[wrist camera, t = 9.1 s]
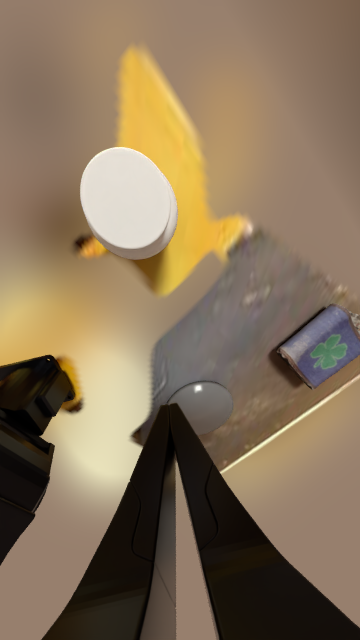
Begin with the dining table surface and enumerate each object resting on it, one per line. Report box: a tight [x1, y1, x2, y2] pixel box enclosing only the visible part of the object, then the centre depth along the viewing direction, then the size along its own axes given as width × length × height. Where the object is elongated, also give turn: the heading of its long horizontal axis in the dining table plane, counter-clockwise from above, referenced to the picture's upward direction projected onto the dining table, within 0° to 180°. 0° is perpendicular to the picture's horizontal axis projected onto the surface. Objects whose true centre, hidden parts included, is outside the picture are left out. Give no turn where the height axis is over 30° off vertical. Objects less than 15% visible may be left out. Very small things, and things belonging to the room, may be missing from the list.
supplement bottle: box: [80, 147, 178, 260], centre depth 13 cm, size 5×5×10 cm
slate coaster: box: [167, 381, 233, 435], centre depth 27 cm, size 10×10×1 cm
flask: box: [276, 304, 360, 390], centre depth 24 cm, size 9×3×11 cm
